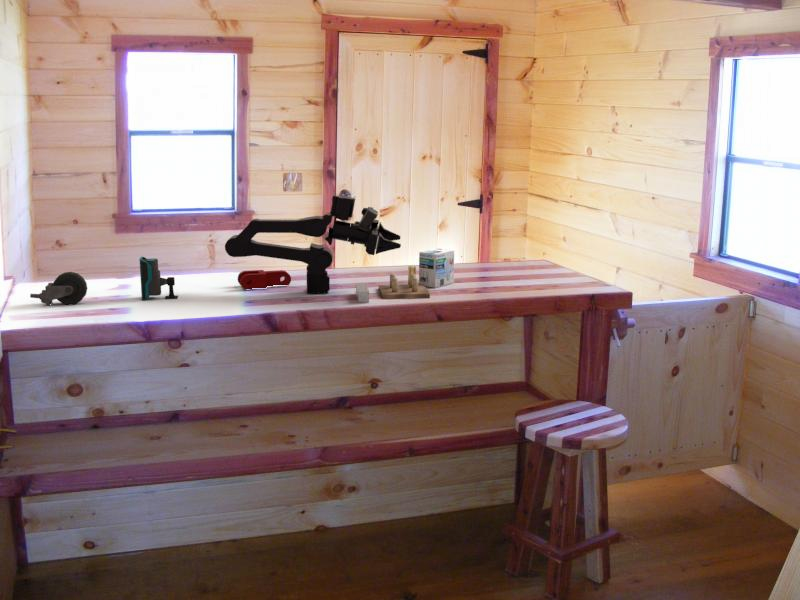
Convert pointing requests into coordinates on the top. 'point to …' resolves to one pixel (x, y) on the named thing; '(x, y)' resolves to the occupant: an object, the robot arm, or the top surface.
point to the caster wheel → (64, 289)
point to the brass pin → (411, 271)
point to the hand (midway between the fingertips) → (400, 241)
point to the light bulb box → (436, 267)
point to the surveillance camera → (153, 279)
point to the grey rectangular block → (362, 293)
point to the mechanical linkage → (262, 278)
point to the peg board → (403, 289)
